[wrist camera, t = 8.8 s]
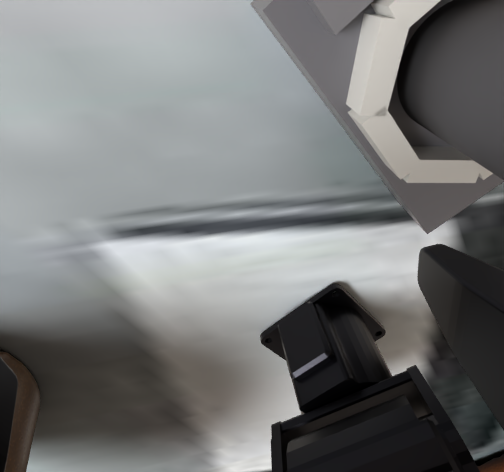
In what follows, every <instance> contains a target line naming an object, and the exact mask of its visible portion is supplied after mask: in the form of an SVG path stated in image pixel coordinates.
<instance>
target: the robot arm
mask: <svg viewBox="0 0 504 472" xmlns="http://www.w3.org/2000/svg"><path fill="white" fill-rule="evenodd" d="M418 284H419V287H420V289H421V291H422V293H423V295H424V297H425V299H426V301H427V303H428V305H429V307H430V309H431V311H432V313H433V315H434V317H435V319H436V321H437V323H438V325H439V327H440V329H441V331H442V333H443V335H444V336H445V338H446V340H447V342H448V344H449V346H450V348H451V350H452V351H453V353H454V355H455V356H456V358H457V359H458V361H459V363H460V364H461V366H462V367H463V369H464V370H465V372H466V373H467V375H468V376H469V378H470V379H471V381H472V382H473V384H474V385H475V387H476V389H477V390H478V392H479V393H480V395H481V396H482V398H483V399H484V401H485V402H486V404H487V405H488V407H489V408H490V410H491V411H492V413H493V414H494V416H495V418H496V419H497V421H498V422H499V424H500V425H501V427H502V428H503V430H504V270H502V269H500V268H497V267H495V266H492V265H490V264H488V263H485V262H483V261H481V260H478V259H476V258H474V257H471V256H469V255H467V254H464V253H462V252H460V251H457V250H455V249H453V248H450V247H448V246H446V245H443V244H436V245H432V246H428V247H424V248H422V249H421V250H420V253H419V263H418ZM334 291H336V292H334ZM333 292H334V293H333ZM384 335H385V330H384V328H383V326H382V325H381V324H380V323H379V322H378V321H377V320H376V319H375V318H374V317H373V316H372V315H371V314H370V313H368V312H367V311H366V310H365V309H364V308H363V307H362V306H361V305H360V304H359V303H358V302H357V301H356V300H355V299H354V298H353V297H352V296H351V295H350V294H349V293H348V292H347V291H345V290H344V289H343V288H342V287H341V286H340V285H339V284H332V285H330V286H328V287H327V288H325V289H324V290H323V291H321V292H320V293H318V294H317V295H315V296H314V297H313V298H311V299H310V300H308V301H307V302H305V303H304V304H303V305H301V306H300V307H298V308H297V309H295V310H294V311H293V312H291V313H290V314H288V315H287V316H286V317H284V318H283V319H281V320H280V321H278V322H277V323H276V324H274V325H273V326H271V327H270V328H268V329H267V330H266V331H264V332H263V333H262V334H261V335H260V339H261V343H262V344H263V345H264V346H266V347H267V348H269V349H270V350H271V351H273V352H274V353H276V354H277V355H279V356H280V357H282V358H283V359H285V360H286V361H287V365H288V369H289V373H290V376H291V378H292V382H293V386H294V389H295V393H296V397H297V401H298V405H299V409H300V410H301V415H299V416H296V417H294V418H291V419H289V420H287V421H284V422H281V421H280V422H277V423H275V424H272V426H271V428H272V439H271V458H272V472H480V471H479V469H478V467H477V465H476V463H475V462H474V460H473V458H472V456H471V454H470V452H469V451H468V449H467V447H466V445H465V443H464V442H463V440H462V438H461V436H460V435H459V433H458V431H457V430H456V428H455V426H454V425H453V423H452V421H451V420H450V418H449V417H448V415H447V414H446V412H445V410H444V409H443V407H442V406H441V404H440V403H439V401H438V399H437V398H436V396H435V395H434V393H433V391H432V390H431V388H430V387H429V385H428V384H427V382H426V380H425V379H424V377H423V376H422V374H421V373H420V371H419V369H418V368H417V366H416V365H414V366H412V367H410V368H407V371H405V372H402V373H400V374H397V375H395V376H392V375H391V373H390V371H389V369H388V367H387V365H386V363H385V361H384V359H383V357H382V355H381V353H380V351H379V349H378V347H377V345H376V343H375V341H376V340H378V339H380V338H381V337H383V336H384ZM17 391H18V379H17V376H16V374H15V373H14V372H13V371H12V369H11V368H10V367H9V366H8V365H7V364H6V363H5V362H4V360H3V359H2V358H1V357H0V472H5V467H6V463H7V458H8V452H9V446H10V439H11V433H12V426H13V419H14V412H15V405H16V398H17Z"/></svg>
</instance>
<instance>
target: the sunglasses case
mask: <svg viewBox="0 0 504 472" xmlns="http://www.w3.org/2000/svg"><path fill="white" fill-rule="evenodd" d="M477 467H478V469H479V471H480V472H504V454H503V455H502V456H501V457H498V458H494V459H492V460H490V461H488V462H486V463H485V464H483V465H481V466H477Z"/></svg>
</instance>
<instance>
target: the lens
mask: <svg viewBox="0 0 504 472" xmlns="http://www.w3.org/2000/svg"><path fill="white" fill-rule="evenodd" d="M397 90H398V96H399V100H400V103H401V105H402V107H403V109H404V111H405V112H406V114H407V115H408V116H409V117H410V118H411V119H412V120H413V121H415V122H416V123H418V124H419V125H421V126H422V127H424V128H425V129H427V130H428V131H430V132H431V133H433V134H434V135H436V136H437V137H439V138H440V139H442V140H443V141H445V142H446V143H448V144H449V145H451V146H452V147H454V148H456V149H457V150H459V151H460V152H462V153H463V154H465V155H466V156H468V157H469V158H471V159H472V160H474V161H475V162H477V163H478V164H480V165H481V166H483V167H484V168H486V169H487V170H489V171H490V172H492V173H493V174H495V175H496V176H498V177H499V178H501V179H502V180H504V0H453V1H450V2H448V3H447V4H445V5H443V6H442V7H440V8H439V9H437V10H436V11H435V12H433V13H432V14H431V15H430V16H429V17H428V18H427V19H426V20H425V21H424V22H423V23H422V24H421V25H420V26H419V28H418V29H417V30H416V32H415V33H414V34H413V36H412V37H411V39H410V41H409V43H408V44H407V46H406V48H405V51H404V53H403V55H402V58H401V61H400V65H399V70H398V77H397Z"/></svg>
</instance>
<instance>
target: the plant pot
mask: <svg viewBox="0 0 504 472" xmlns="http://www.w3.org/2000/svg"><path fill="white" fill-rule="evenodd" d="M0 357H1V358H2V359H3V360H4V362H5V363H6V364H7V365H8V366H9V367H10V368H11V369H12V371H13V372H14V373H15V374H16V376H17V379H18V391H17V398H16V405H15V412H14V419H13V426H12V433H11V439H10V446H9V452H8V458H7V463H6V467H5V472H26V469H27V464H28V459H29V454H30V449H31V445H32V440H33V436H34V431H35V426H36V422H37V418H38V414H39V410H40V392H39V388H38V385H37V383H36V381H35V379H34V378H33V376H32V374H31V373H30V372H29V371H28V369H27V368H26V367H25V366H24V365H23V364H22V363H21V362H20V361H18V360H17V359H15V358H14V357H13V356H11V355H10V354H9V353H7V352H0Z"/></svg>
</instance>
